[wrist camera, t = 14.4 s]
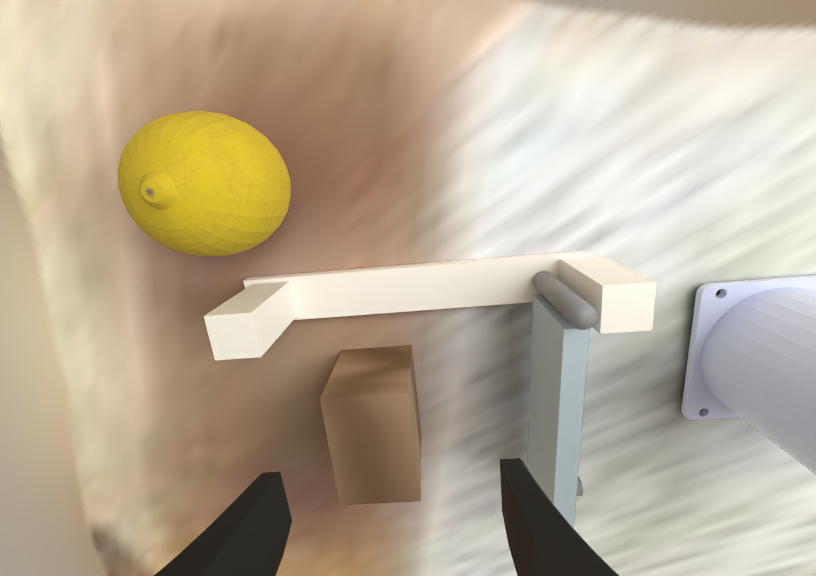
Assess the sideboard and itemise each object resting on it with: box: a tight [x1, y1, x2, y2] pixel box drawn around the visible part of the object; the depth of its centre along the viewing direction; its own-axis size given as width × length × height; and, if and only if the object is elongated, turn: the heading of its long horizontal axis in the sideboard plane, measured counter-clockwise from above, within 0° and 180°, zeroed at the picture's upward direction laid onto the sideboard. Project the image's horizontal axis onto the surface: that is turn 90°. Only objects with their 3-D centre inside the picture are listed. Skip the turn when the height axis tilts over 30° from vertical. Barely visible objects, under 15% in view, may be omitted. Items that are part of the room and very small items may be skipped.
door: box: [527, 271, 598, 529], centre depth 19 cm, size 12×2×5 cm, turn 4°
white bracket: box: [204, 250, 657, 360], centre depth 18 cm, size 18×2×5 cm, turn 95°
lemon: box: [118, 111, 291, 256], centre depth 16 cm, size 6×6×8 cm
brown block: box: [320, 345, 421, 505], centre depth 20 cm, size 4×6×5 cm, turn 6°
